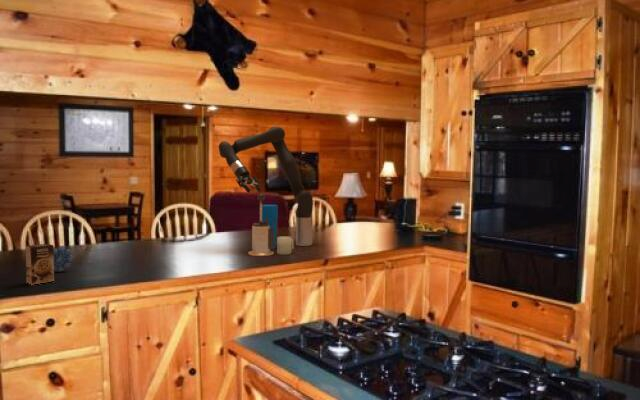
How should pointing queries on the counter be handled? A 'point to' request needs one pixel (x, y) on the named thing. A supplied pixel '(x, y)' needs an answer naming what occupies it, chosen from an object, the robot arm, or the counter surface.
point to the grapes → (61, 258)
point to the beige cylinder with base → (262, 240)
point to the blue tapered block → (271, 219)
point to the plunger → (261, 197)
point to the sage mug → (284, 245)
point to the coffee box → (39, 264)
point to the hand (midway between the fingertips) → (254, 191)
